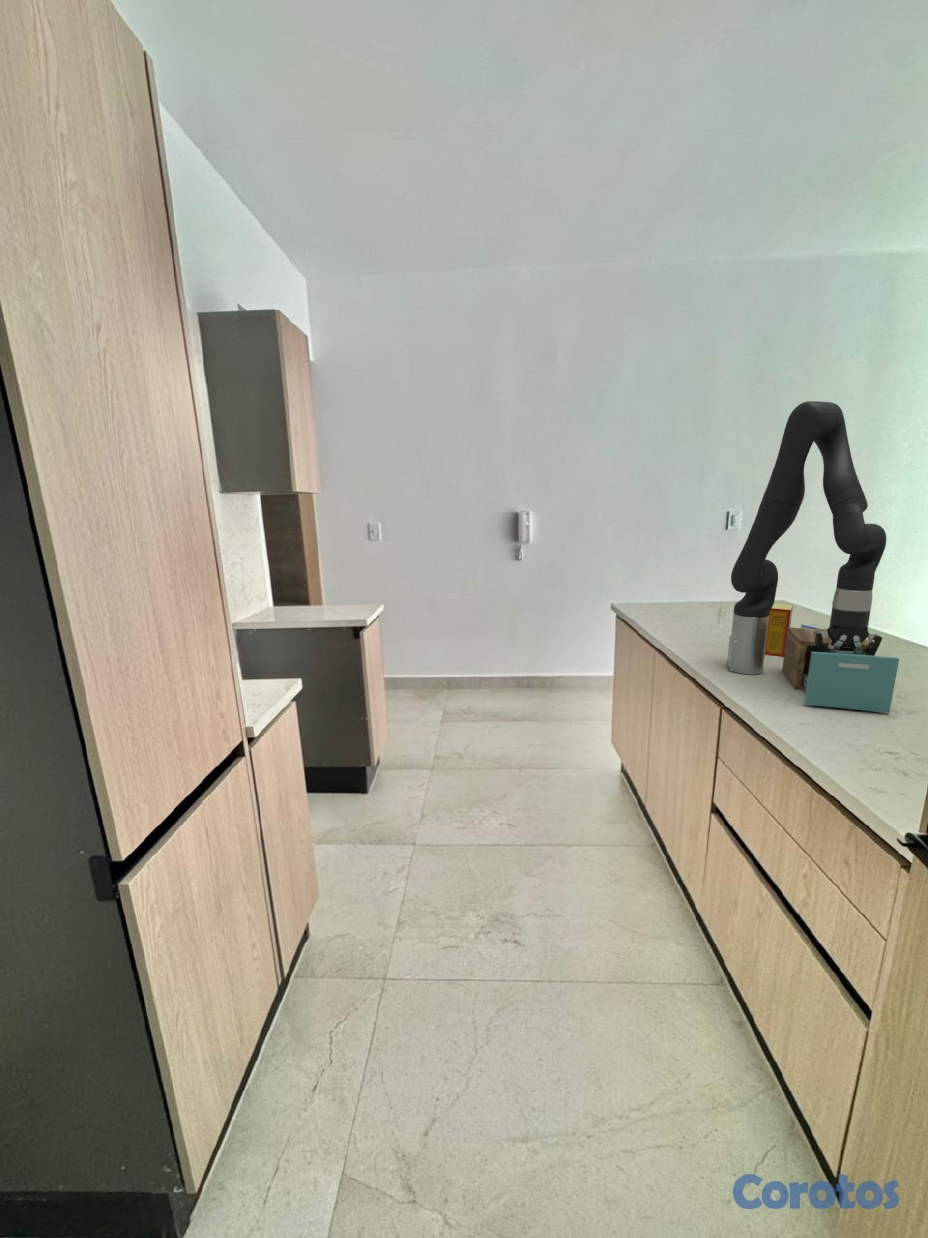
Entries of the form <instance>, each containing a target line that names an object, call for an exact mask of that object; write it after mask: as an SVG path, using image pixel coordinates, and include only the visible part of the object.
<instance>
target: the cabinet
mask: <svg viewBox="0 0 928 1238" xmlns="http://www.w3.org/2000/svg"><path fill="white" fill-rule="evenodd" d="M815 631H818V632H822V631H827V629H808V628H801V627H790V628H789V627H788V628H787V636H786V643H785V651H784V657H783V660H782V668H781V672H782V674H783V675H784V676H785V677H786V679H787V680H788V682H789V683H790V684H791V687H793V689H794V690H801V691H806V688H805V687H804V686H803V684H802V677H803V674H809V666H810V659H811V652H817V651H816V645H815V639H814V632H815ZM830 642H831V639H830V637H829V636H828V635H827V636H826V638H825V640H823V644H824V650H825V651H826V650H827V648H828V645H829V643H830ZM868 644H869V641H868V639H867V638H866V639H865V640H864V641H863V642H862V643H861V646H862V650H863V653H864V652H865V650H866V648H867V646H868ZM838 651H853V649H852V648H849V647H840V648H839V650H838ZM853 652H854V651H853Z"/></svg>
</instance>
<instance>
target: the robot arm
mask: <svg viewBox="0 0 928 1238" xmlns="http://www.w3.org/2000/svg"><path fill="white" fill-rule="evenodd" d="M783 430H784V431H783V434H782V438H781V443H780V446H779V450H778V454H777V457H776V460H775V463H774V466H773V470H772V471H771V475H770V478H769V481H768V483H767V486H766V488H765V491H764V493H763V496H762V498H761V501H760V504H759V507H758V509H757V513H756V516H755V518H754V521H753V524H752V525H751V528H750V531H749V533H748V536H747V539H746V541H745V543H744V545H743V548H742V549H741V551H740V554H739V555H738V558H737V559H736V561H735V563H734V565H733V568H732V570H731V574H730V583H731V586H732V587H733V589H734V590H735V591H736V592H738V593H744V594H745V595H744V596H743V597H742V598H741V599H739V601H737V602H736V603H734V605H733V613H732V622H731V624H732V625H731V632H730V633H731V634H730V635H729V641H728V650H727V651H728V652H727V660H726V666H727V668H728V671H729V672H734V673H739V674H744V675H760V674H762V673H763V671H764V667H765V666H764V665H765V663H764V662H765V657H766V655H765V647H766V639H767V630H768V621H769V614H770V610H771V608H772V607H773V604H774V603H775V601H776V600H775V599H776V594H777V588H778V584H779V583H778V582H779V571H778V568H777V566H776V564H775V563H774V562H772V561H771V560H769V559H767V556H768V554H769V552H770V551H771V549H772V547H773V546H774V545H775V544H776V543H777V542H778V540H780V538H781V537H782V536H783V535H784V534H785V533H786V532H787V530H788V529H790V527H791V526H792V524H793V523H794V522H795V521H796V520H795V519H796V518H797V516H798V514H799V512H800V508H801V506H802V504H803V501H804V499H805V493H806V483H805V480H806V479H805V464H806V462H807V458H808V455H809V454H810V449H811V448H812V446H813V444H815V445H816V446H817V448H818V450H819V452H820V454H821V457H822V463H823V475H822V476H823V477H822V486H823V487H822V489H823V493H824V497H825V499H826V502H827V504H828V508H829V509H830V511H831V514H832V527H833V528H832V529H833V536H834V537H833V538H834V540H835V544H836V545H837V547H838V549H840V550H841V551H842V552H843V553H844V554H847V555H849V556H848V560H847V562H845V564H842V565H841V566H840V567H839V570H838V574H837V579H836V588H835V591H834V593H833V594H834V595H833V598H832V602H831V604H832V606H831V614H830V621H829V626H828V627H827V628H828V629H827V631H822V632H818V631H815V632H814V639H815V645H816V651H817V652H824V653H836V652H837V651H838V650H839V648H840V647H849V648H852V649H853V651H854V653H855V654H857V655H870V656H876V653H877V651H878V649H879V647H880V645H881V643H882V641H883V636H880V635H879V634H877V633H870V632H869V630H868V628H869V624H870V618H871V617H870V616H871V611H872V605H873V589H874V583H875V576H876V575H875V574H876V571H877V569H878V567H879V564H880V562H881V559H882V557H883V555H884V552H885V549H886V546H887V533H886V531H885V529H884V528H883V527H882V526H881V525H879V524H877V523H866V522H865V519H864V512H866V510H868V508H869V507H868V506H869V505H868V501H867V498H866V495H865V492H864V490H863V487H862V485H861V482H860V480H859V477H858V475H857V472H856V468H855V466H854V463H853V458H852V457H853V456H852V453H851V448H850V444H849V437H848V431H847V427H846V421H845V415H844V412H843V410H842V408H841V407H840V406H839V405H838V404H837V403H834V402H832V401H818V400H817V401H816V400H813V401H811V400H808V401H807V400H806V401H804V402H802V403H799V404H798V405H797V406H796V407H795V408H794V409H793V410H792V411H791V413H790V414H789V416H788V418H787V420H786V423H785V427H784V429H783ZM827 635H828V636H829V637H830V639H831V642H830V643H829V645H828V648H827V650H826V651H825V650H824V644H823V640H825V638H826V636H827ZM867 638H868V639H867ZM865 639H866V640H867V641H869V644H868V646H867V648H866V650H865V652H864V653H863V650H862V646H861V643H862V642H863V641H864V640H865Z"/></svg>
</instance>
